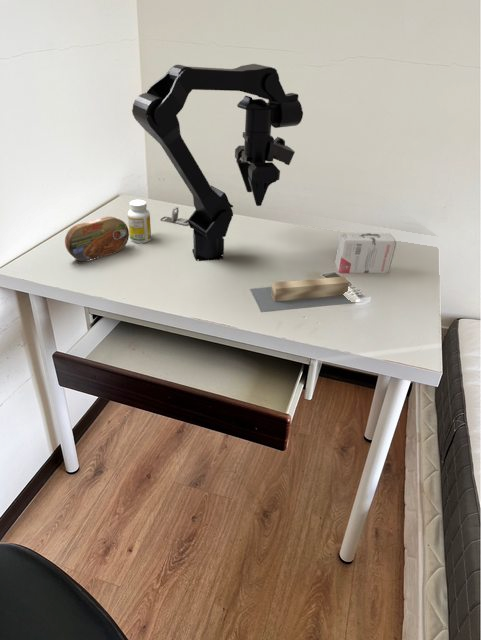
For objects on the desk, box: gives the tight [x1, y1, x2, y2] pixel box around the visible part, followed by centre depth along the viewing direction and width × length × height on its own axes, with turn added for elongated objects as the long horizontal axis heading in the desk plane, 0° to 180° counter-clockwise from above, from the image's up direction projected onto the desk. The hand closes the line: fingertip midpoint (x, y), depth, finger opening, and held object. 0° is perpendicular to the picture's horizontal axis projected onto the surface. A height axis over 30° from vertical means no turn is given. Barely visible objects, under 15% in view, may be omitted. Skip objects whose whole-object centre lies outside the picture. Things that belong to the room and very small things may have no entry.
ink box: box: [334, 232, 397, 274], centre depth 107 cm, size 9×5×12 cm
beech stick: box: [271, 276, 350, 301], centre depth 97 cm, size 16×2×3 cm, turn 104°
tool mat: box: [249, 286, 355, 313], centre depth 98 cm, size 22×9×1 cm, turn 104°
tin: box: [64, 216, 130, 262], centre depth 108 cm, size 15×3×8 cm, turn 131°
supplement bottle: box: [127, 199, 152, 244], centre depth 115 cm, size 5×5×10 cm
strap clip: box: [159, 206, 189, 227], centre depth 127 cm, size 8×3×4 cm, turn 68°
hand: (253, 198), depth 111 cm, fingers open, 9 cm apart
